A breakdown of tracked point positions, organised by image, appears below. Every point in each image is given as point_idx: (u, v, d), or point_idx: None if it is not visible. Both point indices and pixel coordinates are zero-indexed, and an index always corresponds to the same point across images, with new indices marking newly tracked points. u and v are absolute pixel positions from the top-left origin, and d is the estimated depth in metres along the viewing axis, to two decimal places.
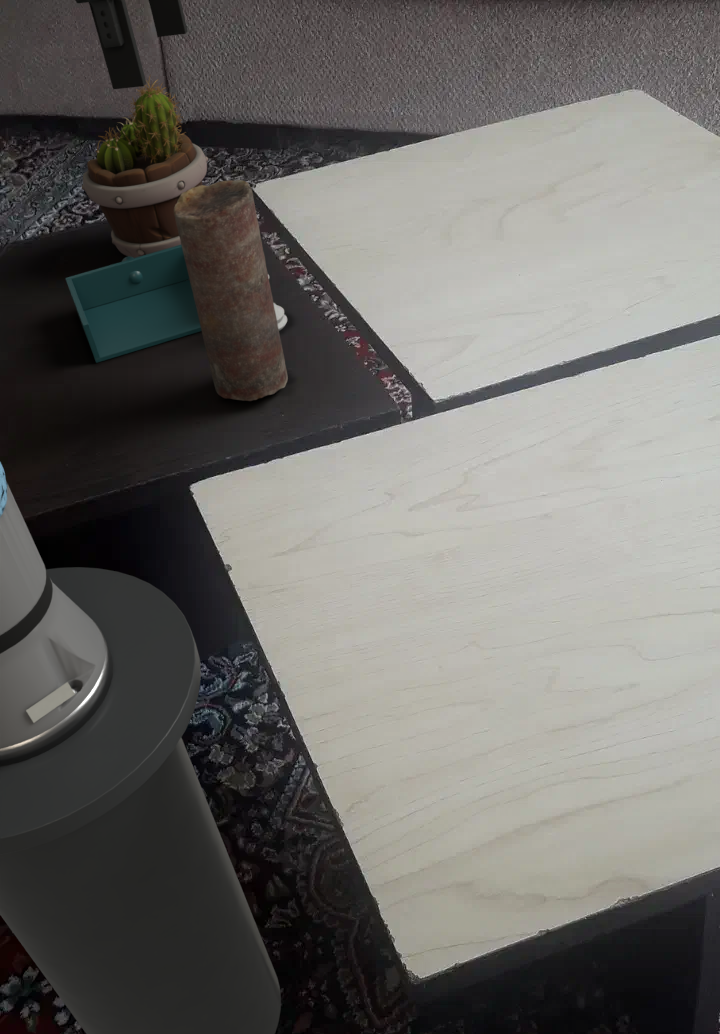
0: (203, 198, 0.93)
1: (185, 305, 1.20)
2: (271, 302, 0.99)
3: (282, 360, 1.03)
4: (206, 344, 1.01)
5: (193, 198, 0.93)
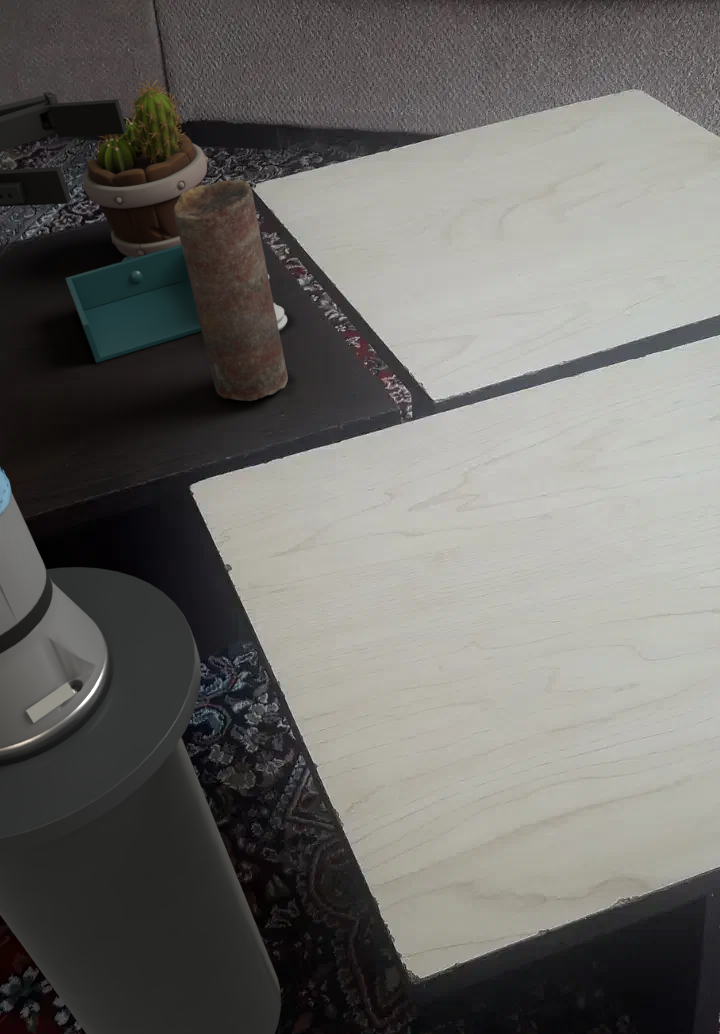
0: (203, 198, 0.93)
1: (185, 305, 1.20)
2: (271, 302, 0.99)
3: (282, 360, 1.03)
4: (206, 344, 1.01)
5: (193, 198, 0.93)
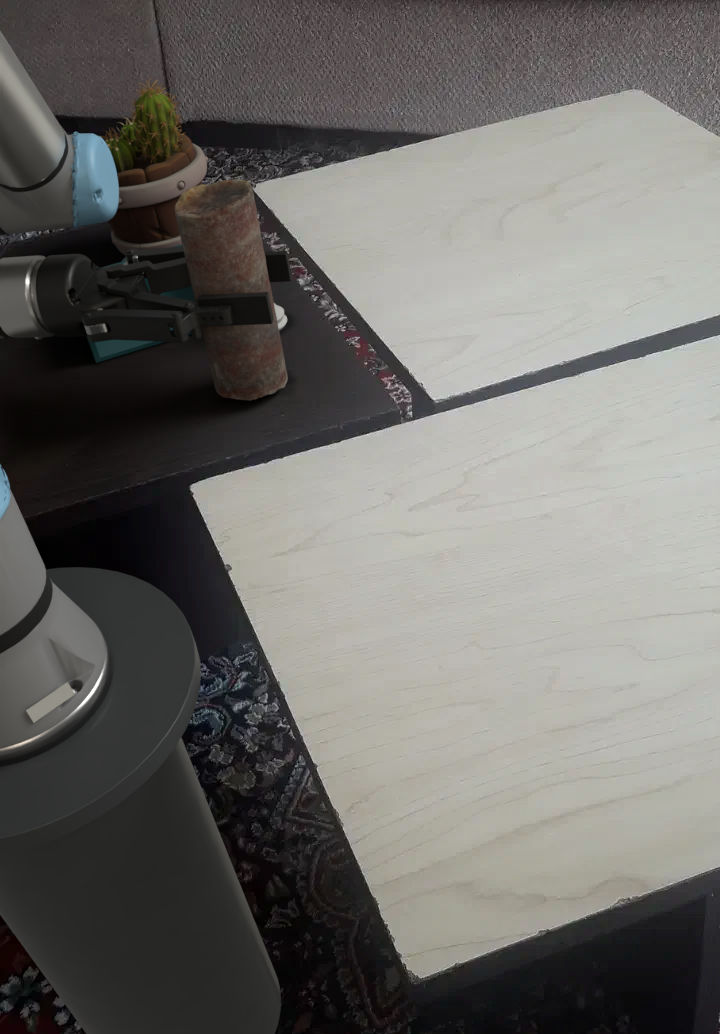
0: (204, 197, 0.93)
1: None
2: (271, 301, 0.99)
3: (282, 360, 1.03)
4: (206, 343, 1.01)
5: (193, 197, 0.93)
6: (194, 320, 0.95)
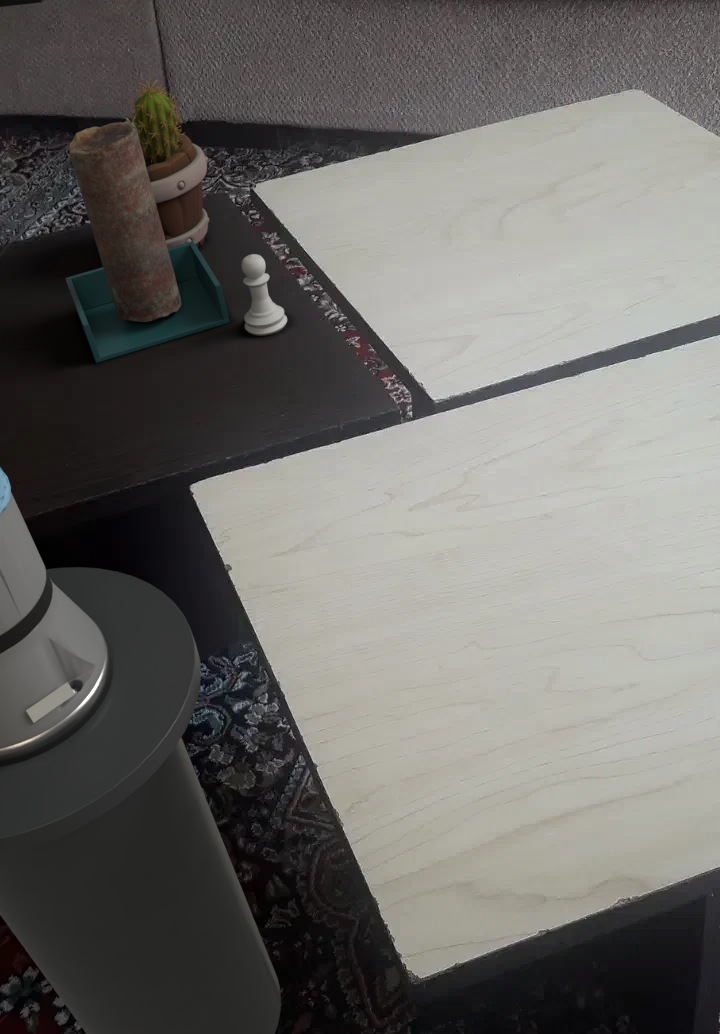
0: (95, 137, 1.06)
1: (185, 305, 1.20)
2: (160, 232, 1.12)
3: (174, 286, 1.16)
4: (104, 270, 1.14)
5: (86, 137, 1.07)
6: None
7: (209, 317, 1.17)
